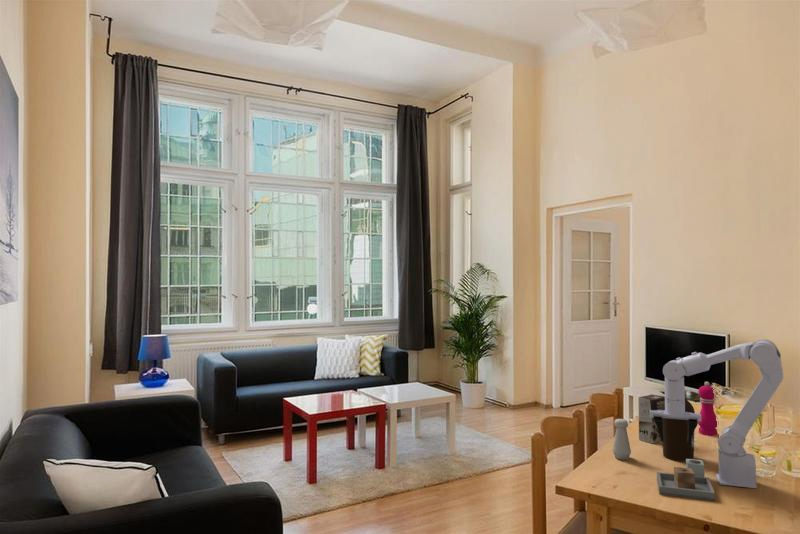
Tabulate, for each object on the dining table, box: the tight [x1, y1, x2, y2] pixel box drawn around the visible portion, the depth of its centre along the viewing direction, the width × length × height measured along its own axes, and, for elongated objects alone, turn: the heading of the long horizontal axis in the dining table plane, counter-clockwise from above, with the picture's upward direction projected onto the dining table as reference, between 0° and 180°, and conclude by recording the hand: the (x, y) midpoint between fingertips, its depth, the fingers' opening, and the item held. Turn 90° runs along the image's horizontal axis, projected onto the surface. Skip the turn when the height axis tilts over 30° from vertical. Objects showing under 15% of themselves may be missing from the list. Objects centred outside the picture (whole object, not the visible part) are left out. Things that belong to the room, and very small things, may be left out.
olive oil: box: [660, 397, 696, 462], centre depth 190 cm, size 11×11×25 cm
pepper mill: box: [697, 381, 718, 437], centre depth 216 cm, size 7×7×20 cm
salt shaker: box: [612, 418, 632, 461], centre depth 190 cm, size 6×6×13 cm
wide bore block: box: [685, 458, 706, 477], centre depth 171 cm, size 4×4×5 cm
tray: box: [656, 471, 716, 502], centre depth 162 cm, size 14×12×2 cm
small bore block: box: [673, 466, 695, 490], centre depth 163 cm, size 4×4×5 cm
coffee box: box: [638, 394, 665, 444], centre depth 209 cm, size 9×6×16 cm
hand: (675, 441), depth 177 cm, fingers open, 7 cm apart
